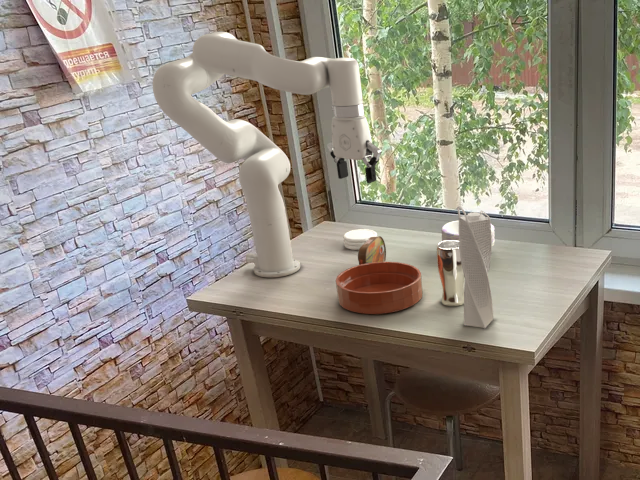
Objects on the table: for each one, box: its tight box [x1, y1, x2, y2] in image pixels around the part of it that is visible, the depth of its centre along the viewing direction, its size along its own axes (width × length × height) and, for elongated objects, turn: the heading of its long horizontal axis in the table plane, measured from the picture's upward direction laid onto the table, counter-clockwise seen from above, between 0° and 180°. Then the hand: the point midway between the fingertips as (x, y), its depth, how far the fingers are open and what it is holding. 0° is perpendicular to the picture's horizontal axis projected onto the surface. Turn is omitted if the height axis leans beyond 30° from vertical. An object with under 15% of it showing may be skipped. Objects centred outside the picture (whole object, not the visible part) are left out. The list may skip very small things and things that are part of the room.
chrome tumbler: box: [436, 240, 465, 307], centre depth 195 cm, size 7×7×15 cm
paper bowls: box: [440, 219, 496, 247], centre depth 228 cm, size 15×15×8 cm
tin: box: [357, 235, 387, 265], centre depth 217 cm, size 15×3×8 cm, turn 168°
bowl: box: [335, 261, 424, 315], centre depth 200 cm, size 21×21×6 cm
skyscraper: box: [456, 205, 495, 329], centre depth 181 cm, size 8×8×28 cm
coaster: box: [343, 228, 378, 251], centre depth 237 cm, size 10×10×4 cm
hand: (357, 179), depth 206 cm, fingers open, 9 cm apart
